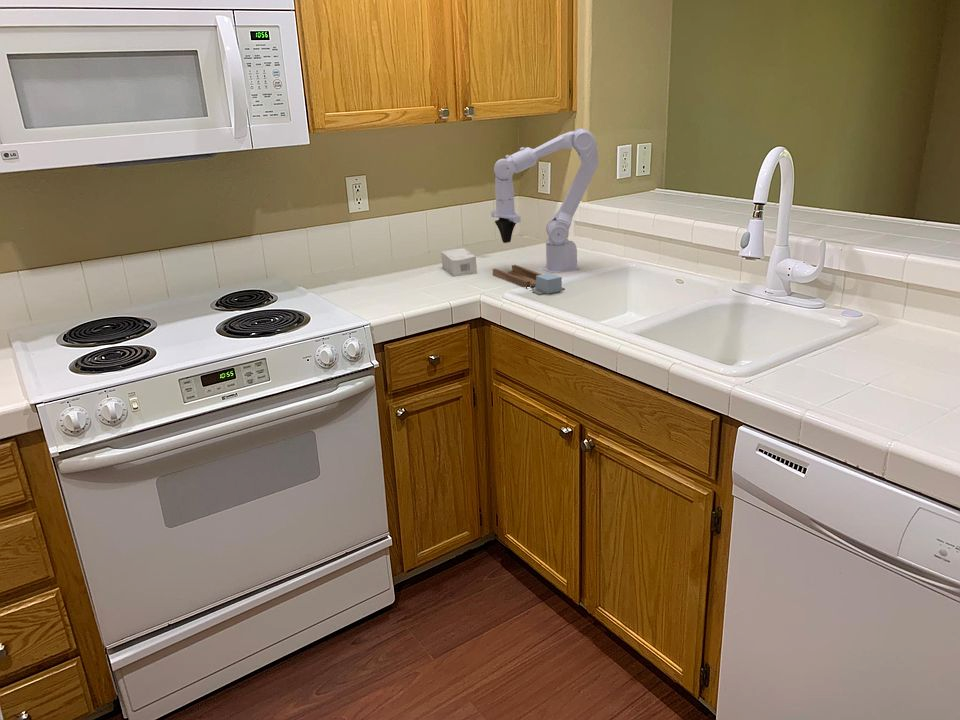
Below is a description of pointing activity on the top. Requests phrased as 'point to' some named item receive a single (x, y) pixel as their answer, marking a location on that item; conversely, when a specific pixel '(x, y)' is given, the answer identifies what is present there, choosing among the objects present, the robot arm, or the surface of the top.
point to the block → (549, 283)
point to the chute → (520, 277)
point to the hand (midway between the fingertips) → (506, 242)
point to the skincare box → (459, 262)
